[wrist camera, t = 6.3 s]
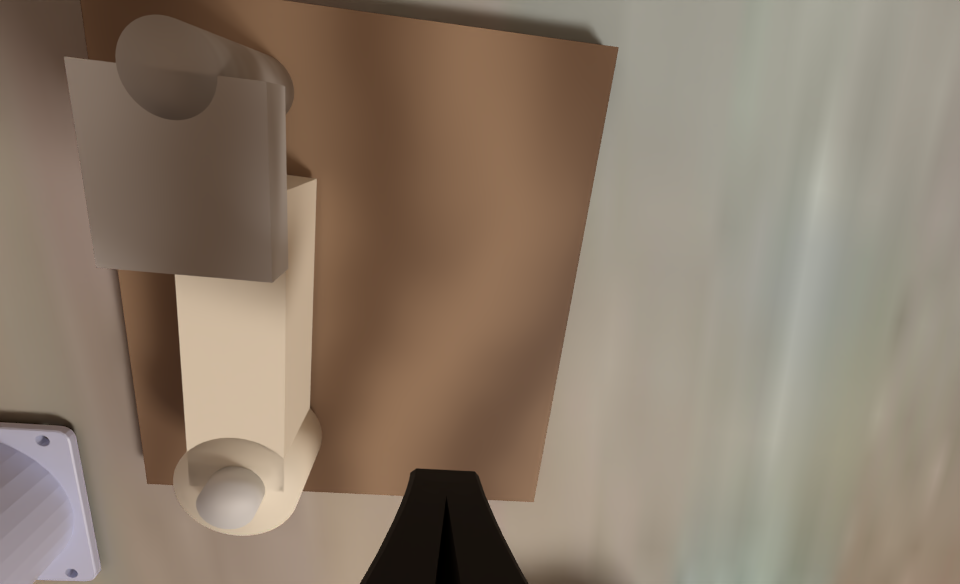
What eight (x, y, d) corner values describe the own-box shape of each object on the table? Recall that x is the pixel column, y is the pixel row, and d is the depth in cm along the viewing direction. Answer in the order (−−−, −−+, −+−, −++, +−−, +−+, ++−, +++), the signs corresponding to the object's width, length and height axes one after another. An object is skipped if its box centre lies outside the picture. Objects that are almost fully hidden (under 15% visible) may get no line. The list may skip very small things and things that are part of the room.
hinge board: (161, 467, 20) (44, 605, 14) (100, -19, 14) (-138, -118, 9) (529, 485, 22) (559, 617, 16) (608, 51, 16) (700, 8, 10)
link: (320, 478, 19) (290, 558, 16) (217, 471, 19) (163, 551, 15) (332, 180, 16) (297, 196, 12) (204, 163, 15) (127, 175, 12)
